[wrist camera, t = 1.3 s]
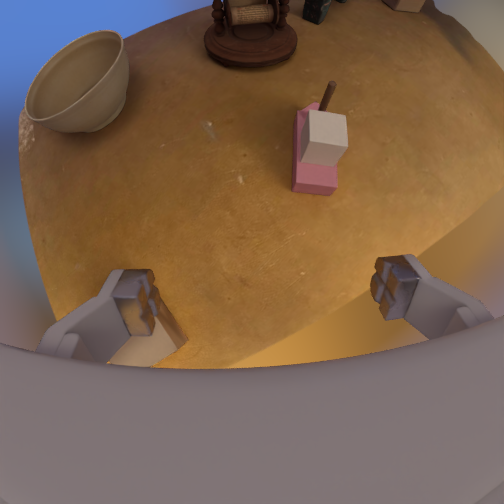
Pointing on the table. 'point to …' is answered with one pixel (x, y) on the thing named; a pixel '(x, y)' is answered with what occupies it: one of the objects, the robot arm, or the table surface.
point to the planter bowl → (81, 84)
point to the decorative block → (405, 5)
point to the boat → (318, 147)
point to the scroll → (250, 33)
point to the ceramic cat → (317, 10)
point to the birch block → (152, 342)
